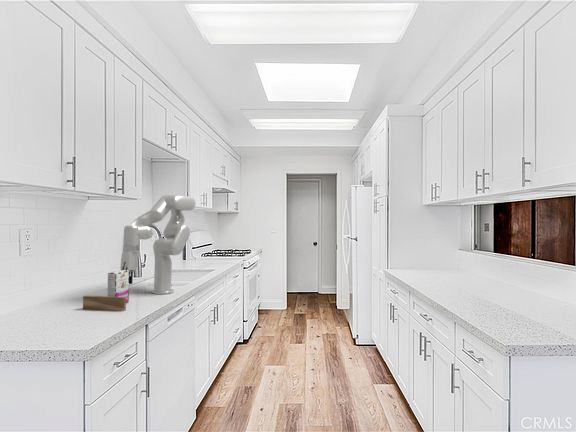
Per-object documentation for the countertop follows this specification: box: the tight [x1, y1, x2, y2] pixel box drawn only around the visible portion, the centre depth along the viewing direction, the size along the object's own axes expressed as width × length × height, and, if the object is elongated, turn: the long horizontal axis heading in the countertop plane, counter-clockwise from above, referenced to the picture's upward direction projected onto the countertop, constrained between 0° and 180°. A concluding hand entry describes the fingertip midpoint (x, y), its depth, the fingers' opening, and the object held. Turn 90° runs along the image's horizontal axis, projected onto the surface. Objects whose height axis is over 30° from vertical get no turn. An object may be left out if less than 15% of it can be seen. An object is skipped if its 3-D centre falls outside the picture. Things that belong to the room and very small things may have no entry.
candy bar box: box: [107, 269, 130, 304], centre depth 203 cm, size 11×5×16 cm, turn 168°
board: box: [82, 295, 127, 312], centre depth 191 cm, size 2×20×6 cm, turn 84°
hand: (128, 283), depth 215 cm, fingers closed
